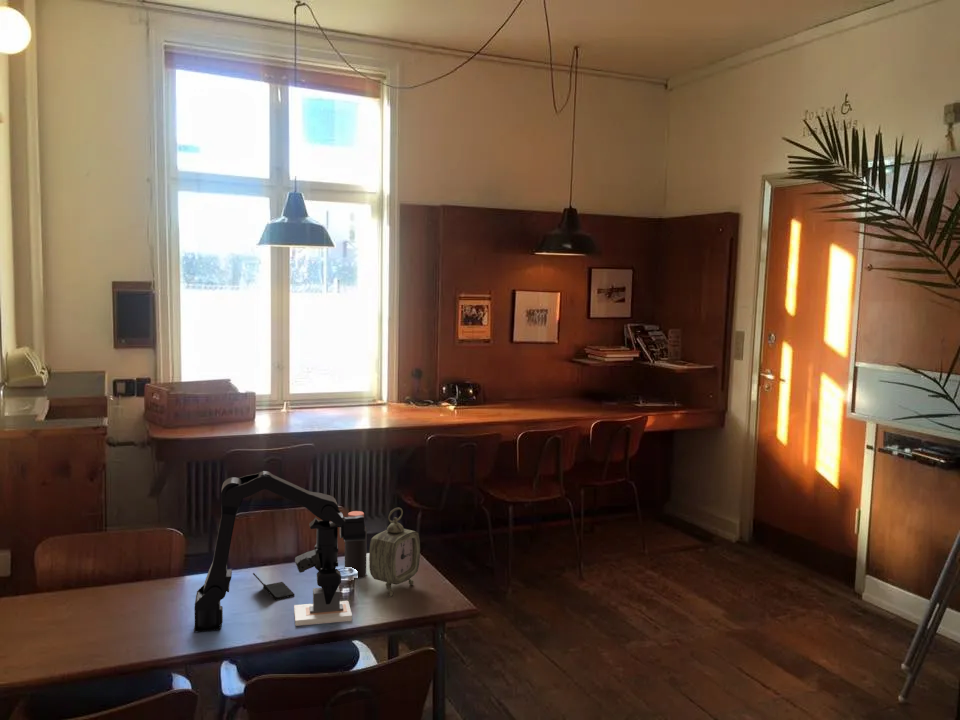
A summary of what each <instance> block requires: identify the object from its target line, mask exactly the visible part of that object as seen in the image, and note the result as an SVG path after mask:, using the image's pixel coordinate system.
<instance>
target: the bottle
mask: <svg viewBox="0 0 960 720" xmlns="http://www.w3.org/2000/svg"><path fill="white" fill-rule="evenodd" d="M359 515H363V517H364V518H365V513H364V512H363V511H362V510H361V511H360V510H353V511H350V512H348V513H347V517H354V516H359ZM367 529H368V528H367V527H366V526H365V530H366V537H365V540H362V541H347V542H344V568H345V567H352V568H354V569H356V570H357V571H358V579H362V578H364V577H365V576H366V575H367V552H368V551H367V549H368V545H367V543H368V539H367V538H368V537H367V536H368V534H367V533H368V530H367Z"/></svg>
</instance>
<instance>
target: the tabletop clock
mask: <svg viewBox="0 0 960 720" xmlns="http://www.w3.org/2000/svg"><path fill="white" fill-rule="evenodd" d="M395 511H400V516H399V517H396V516H394V517H393V520H391V516H392V514H393V513H394V512H395ZM403 513H404V511H403V509H402V508H401V507H395V508H393V509H391V510H390V512H389V514H388V522H389V523H390V524H389V525H388V526H387V528H386V530H384V531H381V532H379V533H377V534H375V535H374V536H373V537H372V538H371V539H370V542H369V557H368V558H369V559H368V561H369V565H368V566H369V572H370V575H371V577H372V578H373V580H375V581H376V580H377V581H380V582H384V583H385V587H386V588H387V587H388V588H387V589H388V590H389V591H387V596H388V597H390V598H391V597H393V595H394V592H393V591H392V585H395V586H396V585H400V584H402V583H405V582H407V581H408V584H409V585H410V586H412V585H414V582H415V580H414V579H412V578H413V577H414V576H415V575H416V574H417V573H418V570H419V566H420V560H421V559H420V558H421V557H420V556H421V540H420V539H421V538H420V533H419V531H415V530H411V529H407V528H404V526H403V525H402V523H400V522H399V521H400V520H401V519H402V517H403Z"/></svg>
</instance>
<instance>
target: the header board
mask: <svg viewBox="0 0 960 720" xmlns="http://www.w3.org/2000/svg"><path fill="white" fill-rule="evenodd" d="M293 612H294V613H293V614H294V626H295V627H296V626H297V627H298V626H309V625H321V624H330V623H342V622H352V621H353V613H352V610H351V607H350V602H349V600H340V609H337V610H325V611H314V610H313V603H304V604H293Z"/></svg>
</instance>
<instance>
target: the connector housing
mask: <svg viewBox="0 0 960 720" xmlns="http://www.w3.org/2000/svg"><path fill="white" fill-rule="evenodd" d="M339 586H340V585H339ZM339 586H338V588H337V590H336V592H335V594H334V596H333V599H332V601H331V603H330V604H326V602H325V597H324V592H323V588H322V587H314V588H312V604H313V610H314V611H325V610H337V609H340V601H341V600H340V599H341V598H340V597H341V591H340V587H339Z"/></svg>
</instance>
